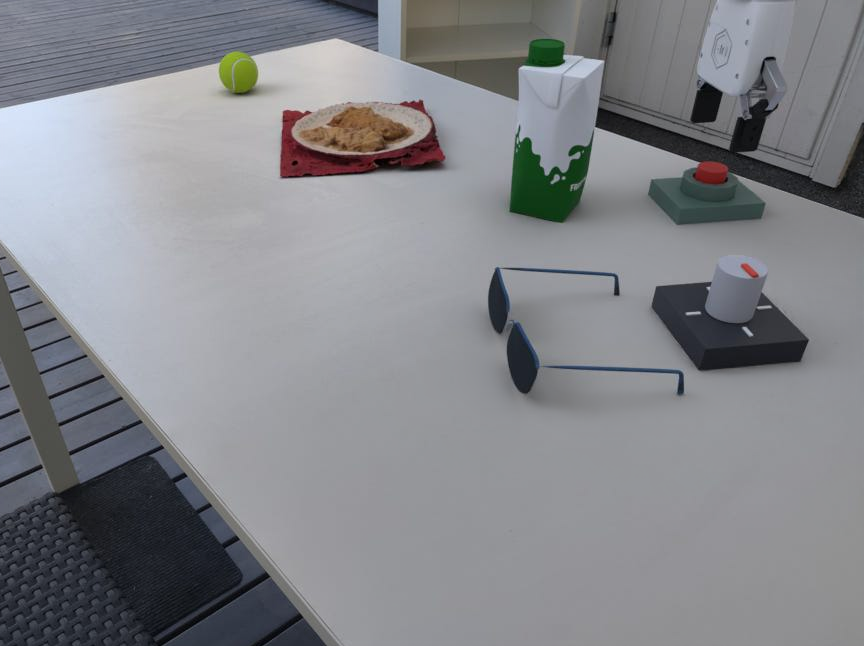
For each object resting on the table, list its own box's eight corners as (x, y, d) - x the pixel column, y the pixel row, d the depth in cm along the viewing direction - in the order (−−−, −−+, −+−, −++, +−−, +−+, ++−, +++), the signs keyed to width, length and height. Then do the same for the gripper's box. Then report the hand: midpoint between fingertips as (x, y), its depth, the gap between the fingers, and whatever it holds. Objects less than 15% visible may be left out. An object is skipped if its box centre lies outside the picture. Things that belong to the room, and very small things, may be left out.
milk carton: (525, 187, 101) (541, 31, 89) (589, 201, 98) (615, 40, 86) (499, 212, 95) (513, 49, 83) (567, 228, 92) (592, 60, 80)
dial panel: (742, 298, 78) (749, 277, 77) (800, 361, 70) (810, 338, 68) (651, 306, 78) (656, 284, 76) (699, 370, 69) (706, 347, 67)
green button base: (726, 189, 100) (734, 160, 98) (761, 219, 93) (770, 189, 90) (647, 194, 99) (653, 165, 97) (676, 225, 92) (684, 195, 90)
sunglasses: (482, 302, 79) (491, 260, 76) (612, 308, 81) (627, 268, 78) (521, 408, 65) (534, 362, 62) (677, 412, 67) (697, 368, 64)
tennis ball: (215, 91, 137) (209, 51, 133) (248, 83, 140) (244, 44, 136) (232, 100, 133) (227, 60, 128) (267, 92, 136) (262, 52, 132)
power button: (716, 173, 95) (719, 160, 94) (730, 185, 92) (733, 171, 91) (689, 175, 95) (692, 162, 94) (702, 186, 92) (706, 173, 91)
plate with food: (423, 111, 127) (423, 90, 125) (446, 167, 106) (446, 143, 104) (283, 119, 126) (281, 99, 124) (279, 177, 105) (276, 154, 103)
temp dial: (696, 300, 74) (709, 253, 70) (738, 296, 74) (753, 249, 71) (718, 325, 70) (733, 277, 67) (762, 321, 71) (779, 273, 67)
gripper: (692, -34, 86) (661, 113, 96) (774, -2, 72) (727, 166, 83) (753, -37, 87) (716, 110, 97) (846, -6, 73) (791, 161, 83)
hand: (721, 135), depth 90 cm, fingers open, 9 cm apart
